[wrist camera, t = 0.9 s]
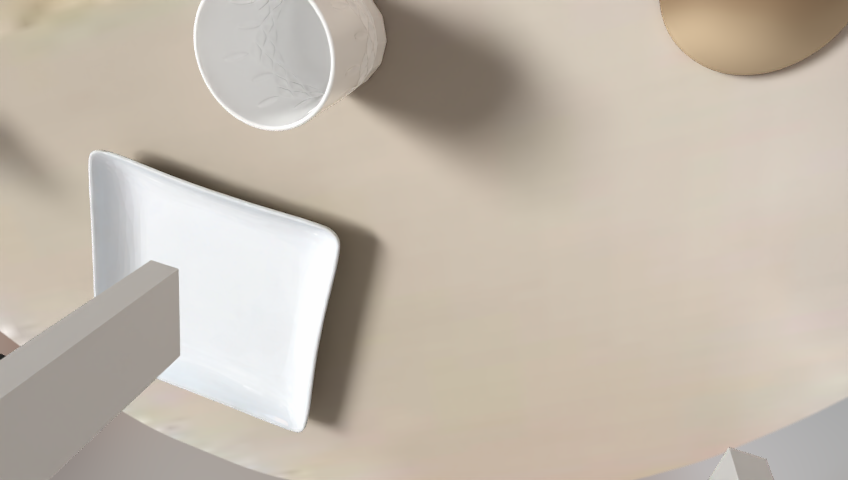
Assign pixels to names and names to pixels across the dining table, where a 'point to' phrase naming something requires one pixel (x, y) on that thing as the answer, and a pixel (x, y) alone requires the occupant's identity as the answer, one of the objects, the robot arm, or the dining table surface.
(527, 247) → the dining table surface
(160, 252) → the salad plate
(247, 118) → the white cup
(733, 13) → the mat
